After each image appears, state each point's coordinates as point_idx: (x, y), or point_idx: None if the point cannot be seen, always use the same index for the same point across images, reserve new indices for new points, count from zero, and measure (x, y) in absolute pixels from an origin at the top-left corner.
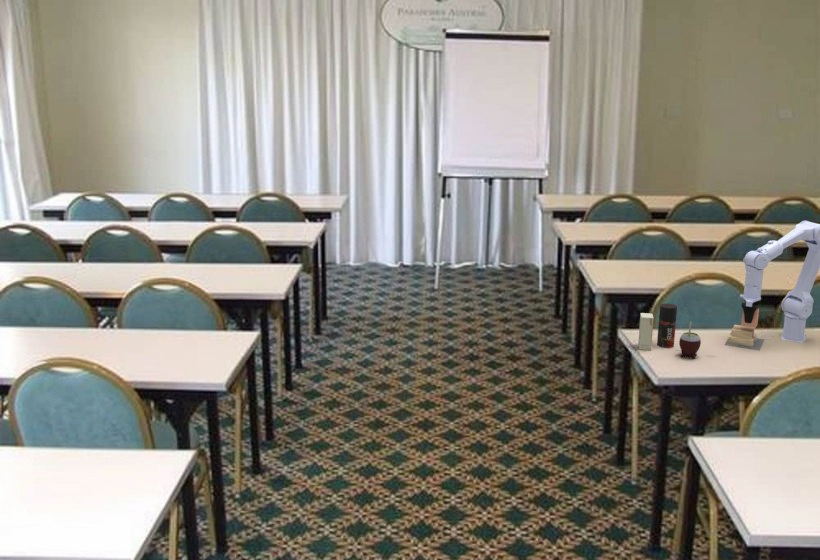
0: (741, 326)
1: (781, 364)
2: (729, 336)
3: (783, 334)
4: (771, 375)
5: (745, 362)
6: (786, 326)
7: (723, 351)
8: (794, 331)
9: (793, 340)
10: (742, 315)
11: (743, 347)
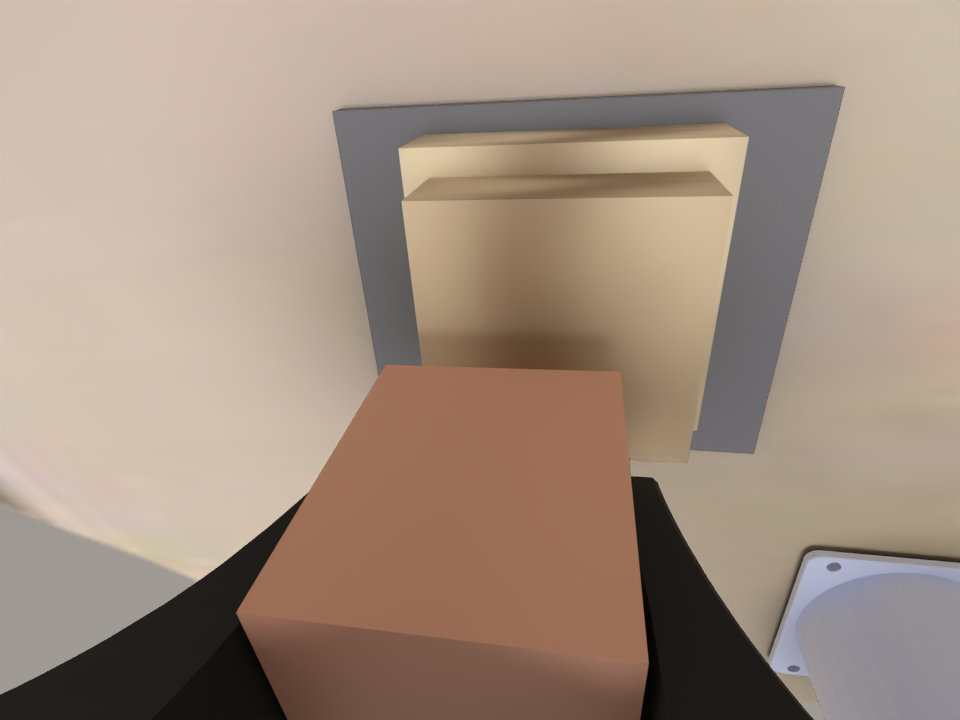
0: (664, 310)
1: (241, 539)
2: (412, 161)
3: (885, 600)
4: (25, 495)
5: (90, 353)
6: (894, 703)
7: (189, 138)
8: (826, 710)
9: (797, 627)
10: (307, 497)
11: (380, 309)
